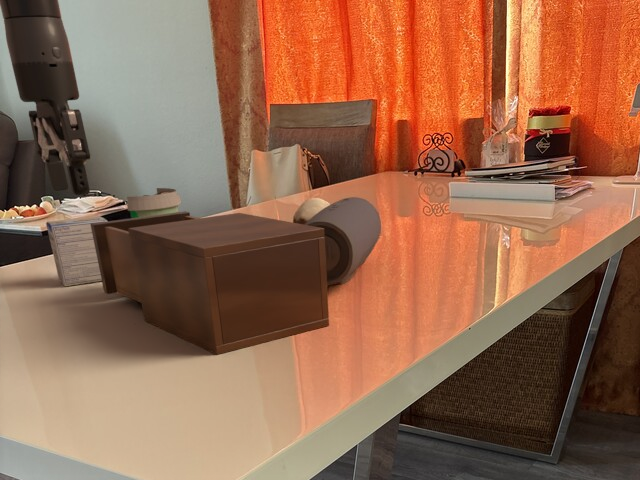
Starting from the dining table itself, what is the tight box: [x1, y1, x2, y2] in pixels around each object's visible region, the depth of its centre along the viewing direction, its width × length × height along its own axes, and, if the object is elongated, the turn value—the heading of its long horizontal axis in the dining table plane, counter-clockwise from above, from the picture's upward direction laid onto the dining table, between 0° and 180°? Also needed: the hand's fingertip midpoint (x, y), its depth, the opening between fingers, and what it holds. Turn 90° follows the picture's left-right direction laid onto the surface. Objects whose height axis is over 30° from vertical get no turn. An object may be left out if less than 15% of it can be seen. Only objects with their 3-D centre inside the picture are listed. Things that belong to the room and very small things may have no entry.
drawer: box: [90, 210, 200, 303], centre depth 94 cm, size 21×14×9 cm, turn 39°
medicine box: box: [45, 215, 108, 287], centre depth 105 cm, size 8×4×9 cm, turn 121°
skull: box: [292, 197, 331, 225], centre depth 127 cm, size 12×10×10 cm
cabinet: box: [128, 212, 330, 355], centre depth 82 cm, size 18×15×11 cm
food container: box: [126, 187, 182, 219], centre depth 122 cm, size 12×6×10 cm, turn 170°
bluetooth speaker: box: [304, 196, 382, 286], centre depth 102 cm, size 23×9×10 cm, turn 169°
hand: (70, 192), depth 101 cm, fingers open, 8 cm apart
